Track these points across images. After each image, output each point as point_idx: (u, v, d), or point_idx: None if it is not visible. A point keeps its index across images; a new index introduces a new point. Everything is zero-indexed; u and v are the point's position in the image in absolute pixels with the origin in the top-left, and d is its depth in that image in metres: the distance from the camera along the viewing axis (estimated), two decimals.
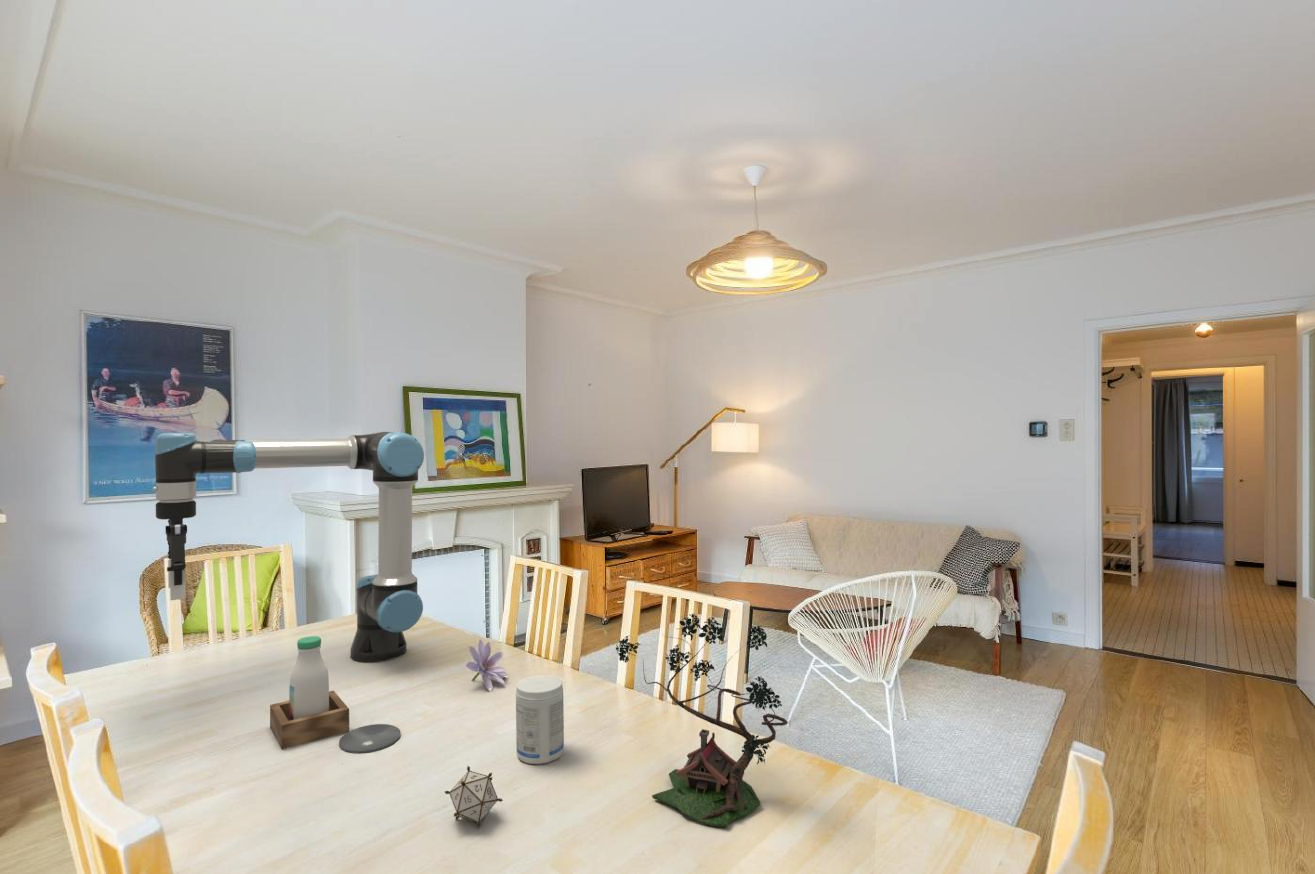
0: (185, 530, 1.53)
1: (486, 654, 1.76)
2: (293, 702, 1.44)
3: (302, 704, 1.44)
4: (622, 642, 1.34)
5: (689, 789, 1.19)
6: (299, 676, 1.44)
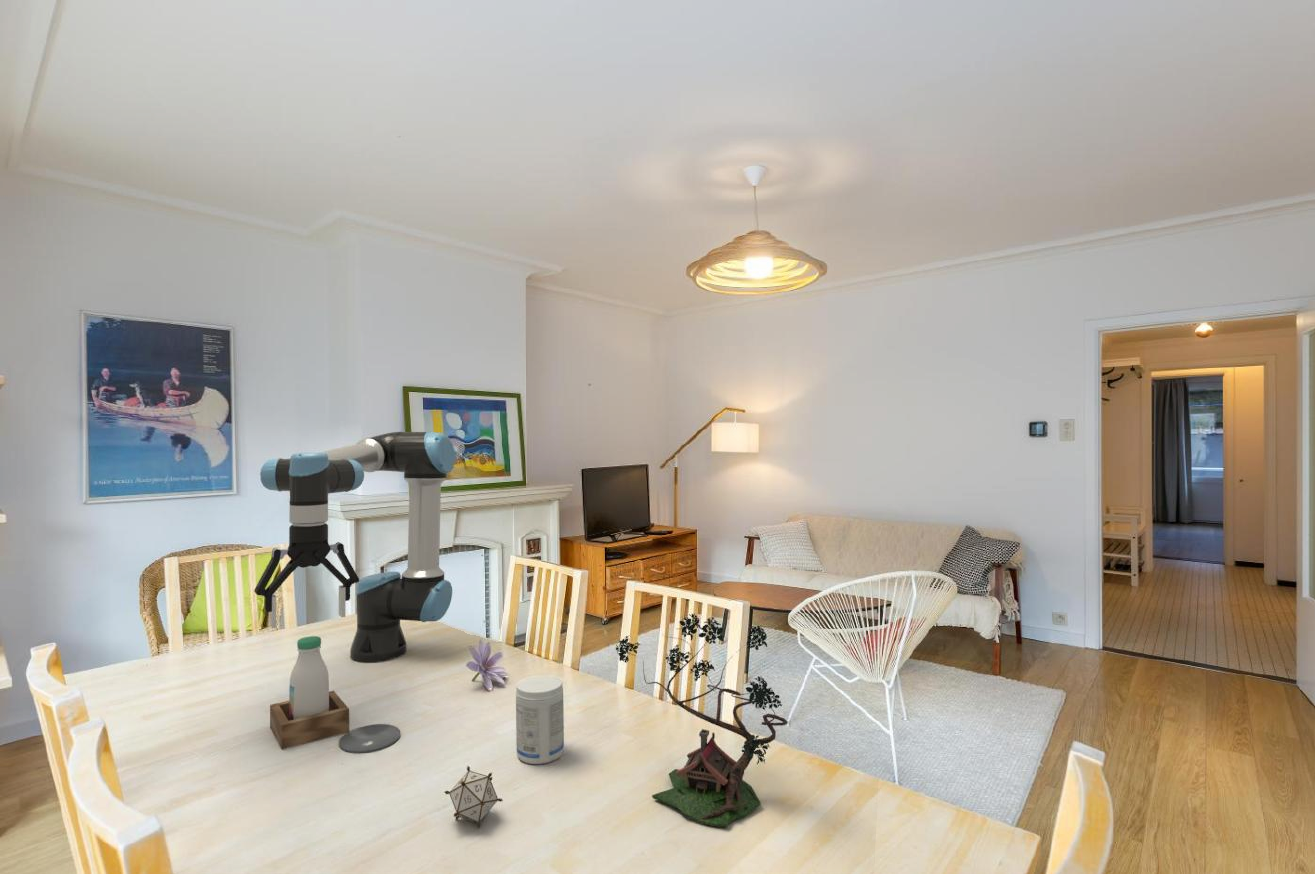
0: (298, 556, 1.44)
1: (486, 654, 1.76)
2: (293, 702, 1.44)
3: (302, 704, 1.44)
4: (622, 642, 1.34)
5: (689, 789, 1.19)
6: (299, 676, 1.44)
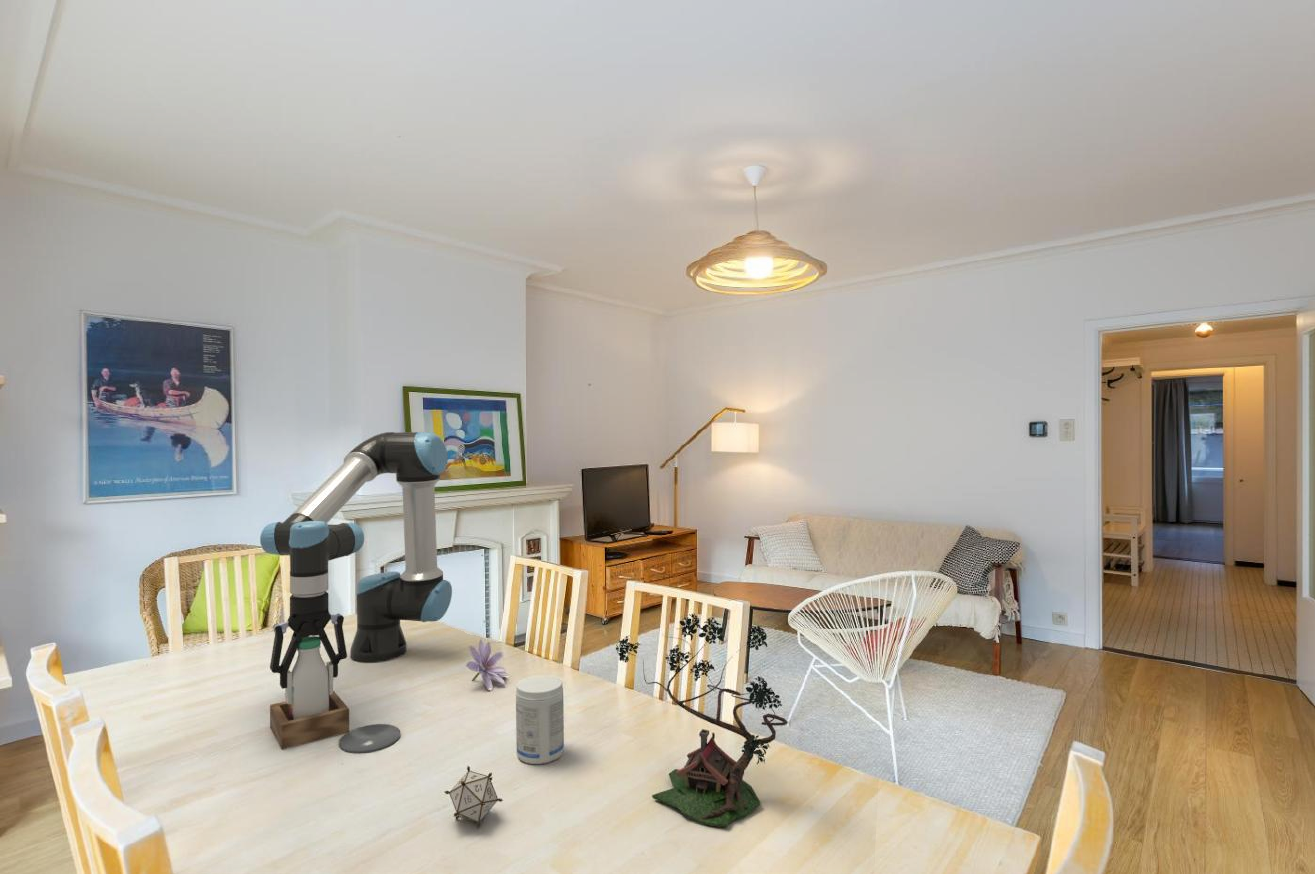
0: (300, 628, 1.45)
1: (486, 654, 1.76)
2: (292, 702, 1.44)
3: (302, 704, 1.44)
4: (622, 642, 1.34)
5: (689, 789, 1.19)
6: (299, 676, 1.44)
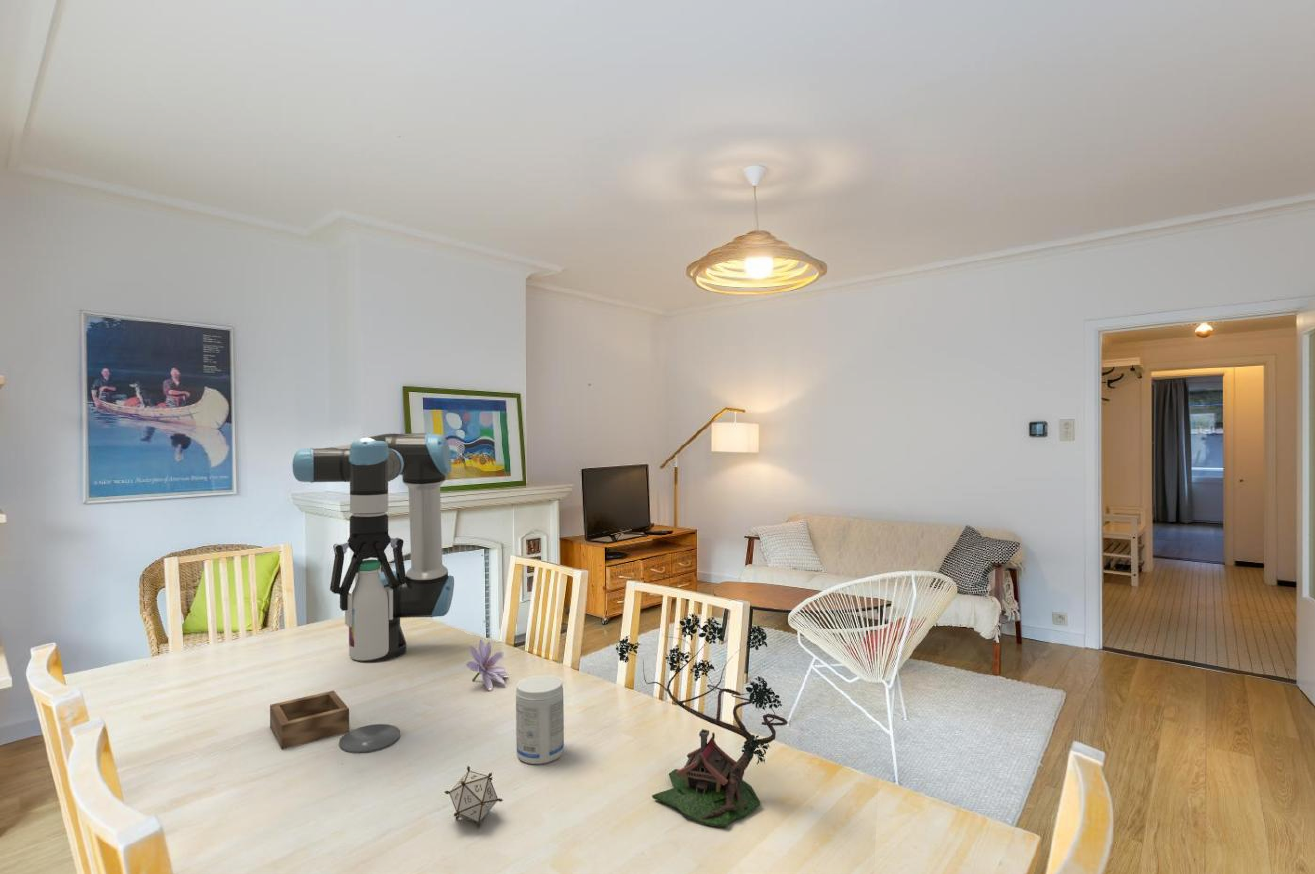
0: (360, 549, 1.40)
1: (486, 654, 1.76)
2: (353, 625, 1.39)
3: (363, 626, 1.39)
4: (622, 642, 1.34)
5: (689, 789, 1.19)
6: (360, 598, 1.39)
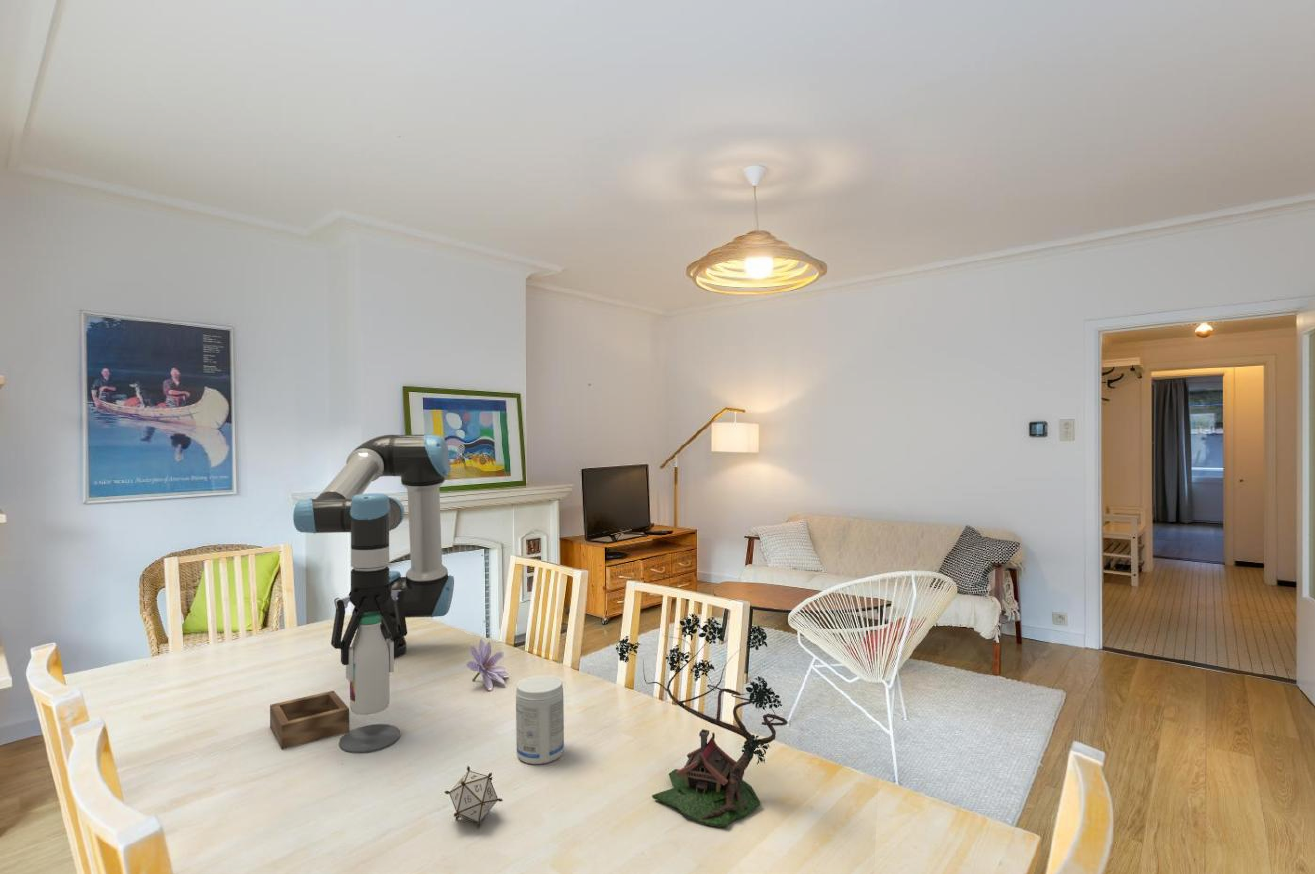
0: (361, 603, 1.40)
1: (487, 654, 1.76)
2: (354, 679, 1.39)
3: (364, 681, 1.39)
4: (622, 642, 1.34)
5: (689, 789, 1.19)
6: (361, 652, 1.39)
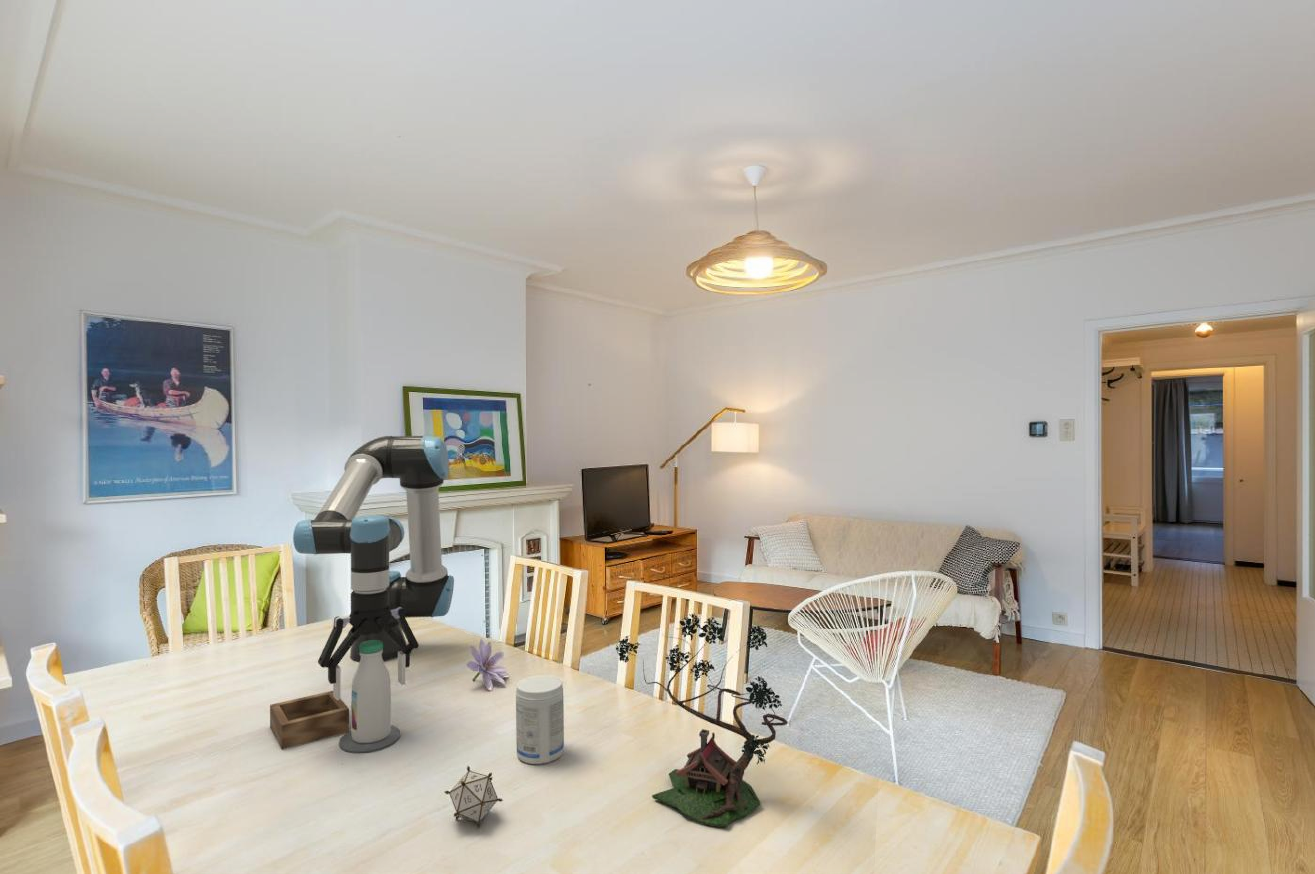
0: (361, 624, 1.40)
1: (487, 654, 1.76)
2: (356, 708, 1.40)
3: (365, 710, 1.39)
4: (622, 642, 1.34)
5: (689, 789, 1.19)
6: (362, 681, 1.40)
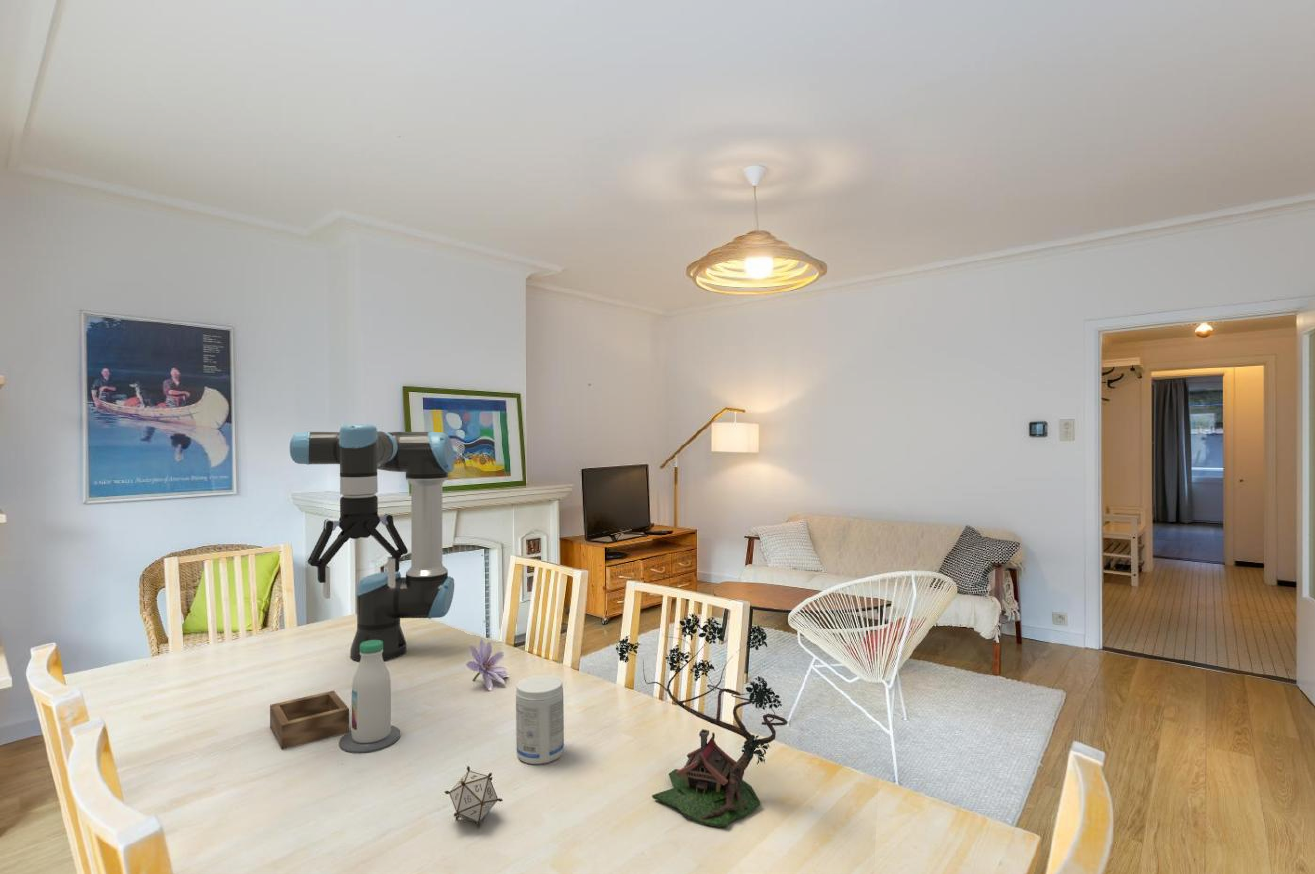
0: (350, 528, 1.45)
1: (487, 654, 1.76)
2: (356, 708, 1.40)
3: (365, 709, 1.39)
4: (622, 642, 1.34)
5: (689, 789, 1.19)
6: (362, 681, 1.40)
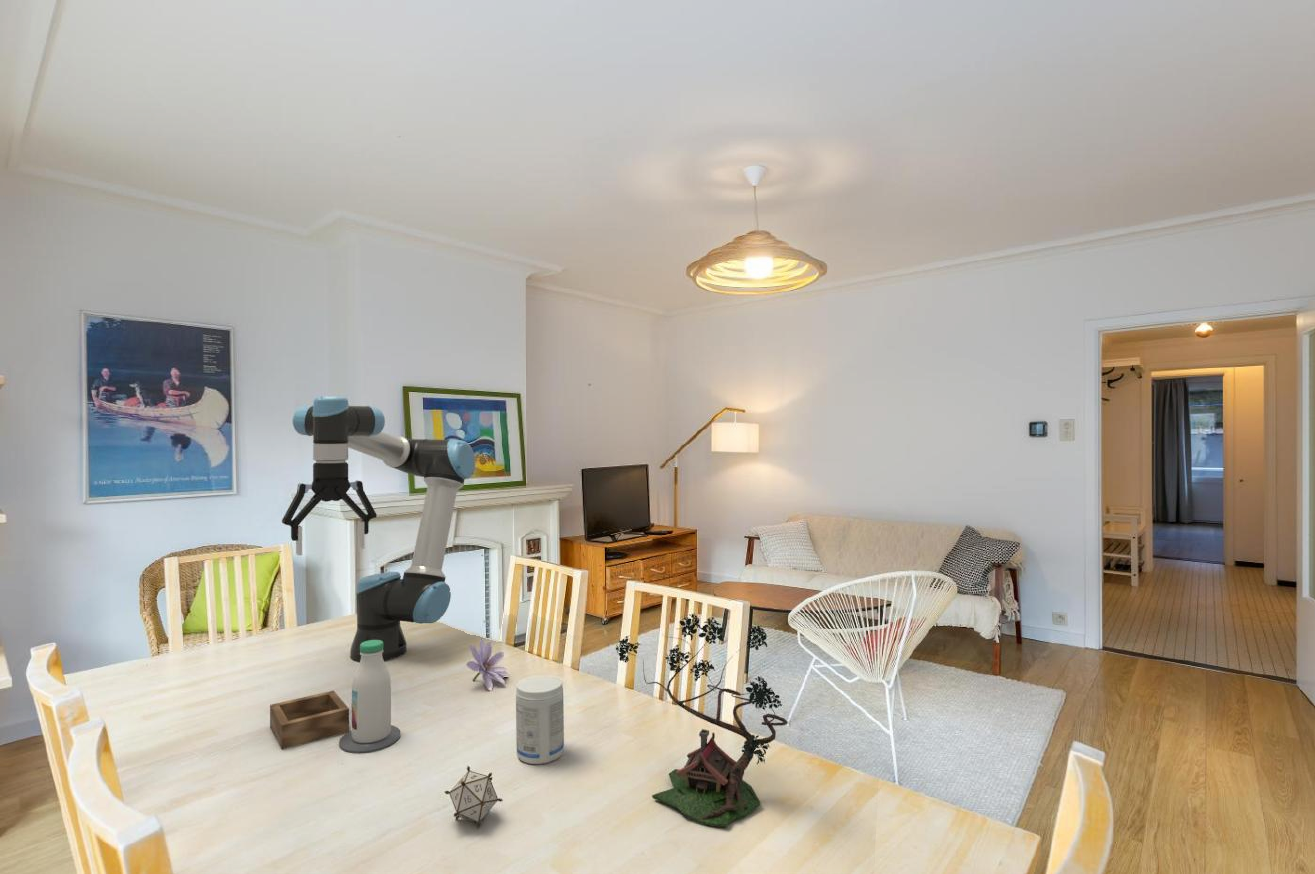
0: (322, 491, 1.57)
1: (487, 654, 1.76)
2: (356, 708, 1.40)
3: (365, 709, 1.39)
4: (622, 642, 1.34)
5: (689, 789, 1.19)
6: (362, 681, 1.40)
